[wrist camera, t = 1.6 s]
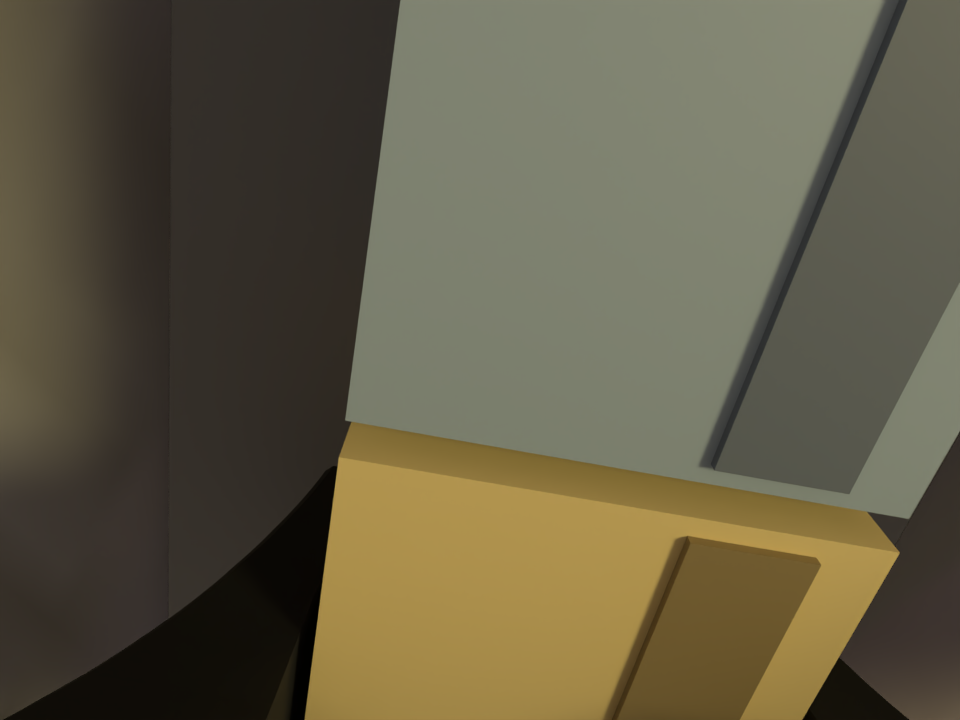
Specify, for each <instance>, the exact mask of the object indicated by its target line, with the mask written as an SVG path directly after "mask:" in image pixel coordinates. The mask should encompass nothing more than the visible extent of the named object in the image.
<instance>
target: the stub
mask: <svg viewBox="0 0 960 720" xmlns="http://www.w3.org/2000/svg"><path fill="white" fill-rule="evenodd" d="M899 554H900V552H899V551H898V550H897V549H896V547H895V546H894V545H893V544H892V542H891V541H890V540H889V539H888V537H887V536H886V535H885V534H884V532H883V531H882V530H881V529H880V527H879V526H878V525H877V524H876V522H875V521H874V520H873V519H872V517H871V516H870V515H869V514H868V512H866V511H860V510H855V509H849V508H843V507H837V506H832V505H826V504H820V503H814V502H809V501H803V500H797V499H792V498H786V497H780V496H774V495H769V494H763V493H757V492H751V491H746V490H740V489H734V488H729V487H723V486H717V485H711V484H706V483H700V482H694V481H688V480H683V479H677V478H671V477H666V476H660V475H654V474H648V473H643V472H637V471H631V470H625V469H620V468H614V467H608V466H603V465H597V464H591V463H585V462H580V461H574V460H568V459H562V458H557V457H551V456H545V455H540V454H534V453H528V452H522V451H517V450H511V449H505V448H499V447H494V446H488V445H482V444H477V443H471V442H465V441H459V440H454V439H448V438H442V437H436V436H431V435H425V434H419V433H414V432H408V431H402V430H396V429H391V428H385V427H379V426H373V425H368V424H362V423H356V422H351V425H350V427H349V430H348V433H347V436H346V439H345V441H344V444H343V447H342V450H341V453H340V455H339V460H338V468H337V475H336V483H335V491H334V498H333V506H332V514H331V521H330V529H329V537H328V544H327V552H326V560H325V567H324V575H323V583H322V590H321V598H320V606H319V613H318V621H317V629H316V636H315V644H314V652H313V659H312V667H311V675H310V682H309V690H308V698H307V705H306V713H305V720H802V719H803V718H804V716H805V714H806V713H807V711H808V709H809V707H810V706H811V704H812V702H813V701H814V699H815V697H816V695H817V694H818V692H819V690H820V689H821V687H822V685H823V684H824V682H825V680H826V678H827V677H828V675H829V673H830V672H831V670H832V668H833V666H834V665H835V663H836V661H837V660H838V658H839V656H840V654H841V653H842V651H843V649H844V648H845V646H846V644H847V642H848V641H849V639H850V637H851V636H852V634H853V632H854V631H855V629H856V627H857V625H858V624H859V622H860V620H861V619H862V617H863V615H864V613H865V612H866V610H867V608H868V607H869V605H870V603H871V601H872V600H873V598H874V596H875V595H876V593H877V591H878V590H879V588H880V586H881V584H882V583H883V581H884V579H885V578H886V576H887V574H888V572H889V571H890V569H891V567H892V566H893V564H894V562H895V560H896V559H897V557H898V555H899Z"/></svg>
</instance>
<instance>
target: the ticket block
mask: <svg viewBox="0 0 960 720" xmlns="http://www.w3.org/2000/svg"><path fill="white" fill-rule="evenodd" d="M345 421H350V422H356V423H362V424H368V425H373V426H379V427H385V428H391V429H396V430H402V431H408V432H414V433H419V434H425V435H431V436H436V437H442V438H448V439H454V440H459V441H465V442H471V443H477V444H482V445H488V446H494V447H499V448H505V449H511V450H517V451H522V452H528V453H534V454H540V455H545V456H551V457H557V458H562V459H568V460H574V461H580V462H585V463H591V464H597V465H603V466H608V467H614V468H620V469H625V470H631V471H637V472H643V473H648V474H654V475H660V476H666V477H671V478H677V479H683V480H688V481H694V482H700V483H706V484H711V485H717V486H723V487H729V488H734V489H740V490H746V491H751V492H757V493H763V494H769V495H774V496H780V497H786V498H792V499H797V500H803V501H809V502H814V503H820V504H826V505H832V506H837V507H843V508H849V509H855V510H860V511H866V512H872V513H878V514H883V515H889V516H895V517H900V518H906V519H909V518H910V517H911V515H912V513H913V511H914V510H915V508H916V506H917V504H918V503H919V501H920V499H921V497H922V496H923V494H924V492H925V491H926V489H927V487H928V485H929V484H930V482H931V480H932V478H933V477H934V475H935V473H936V471H937V470H938V468H939V466H940V465H941V463H942V461H943V459H944V458H945V456H946V454H947V452H948V451H949V449H950V447H951V445H952V444H953V442H954V440H955V439H956V437H957V435H958V433H959V432H960V0H400V7H399V15H398V22H397V30H396V38H395V45H394V53H393V60H392V68H391V76H390V83H389V91H388V98H387V106H386V114H385V121H384V129H383V137H382V144H381V152H380V159H379V167H378V175H377V182H376V190H375V197H374V205H373V213H372V220H371V228H370V235H369V243H368V251H367V258H366V266H365V273H364V281H363V289H362V296H361V304H360V311H359V319H358V327H357V334H356V342H355V349H354V357H353V365H352V372H351V380H350V387H349V395H348V403H347V410H346V418H345Z"/></svg>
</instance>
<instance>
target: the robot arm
mask: <svg viewBox="0 0 960 720" xmlns="http://www.w3.org/2000/svg"><path fill="white" fill-rule="evenodd" d="M337 468H338V466H332V467H330V468H329V469H327V470H325V472H324V473H323V475H322V476H321V477H320V479H319V480H318V481H317V482H316V484H315V485H314V486H313V487H312V489H311V490H310V491H309V492H308V493H307V494H306V496H305V497H304V498H303V499H302V500H301V501H300V502H299V503H298V504H297V506H296V507H295V508H294V509H293V510H292V511H291V512H290V513H289V514H288V515H287V516H286V517H285V518H284V519H283V520H282V521H281V522H280V523H279V524H278V525H277V526H276V527H275V528H274V529H273V530H272V531H271V532H270V533H269V534H268V535H267V536H266V537H265V538H264V539H263V540H262V541H261V542H260V543H259V544H258V545H257V546H256V547H255V548H254V549H253V550H252V551H251V552H250V553H248V554H247V555H246V556H245V557H244V558H243V559H242V560H241V561H239V562H238V563H237V564H236V565H235V566H234V567H233V568H231V569H230V570H229V571H228V572H227V573H226V574H225V575H224V576H222V577H221V578H220V579H219V580H218V581H217V582H215V583H214V584H213V585H212V586H210V587H209V588H208V589H207V590H206V591H204V592H203V593H202V594H201V595H199V596H198V597H197V598H195V599H194V600H193V601H192V602H190V603H189V604H188V605H186V606H185V607H184V608H182V609H181V610H180V611H178V612H177V613H176V614H174V615H173V616H172V617H170V618H169V619H168V620H166V621H165V622H163V623H162V624H161V625H159V626H158V627H156V628H155V629H153V630H152V631H150V632H149V633H147V634H146V635H144V636H143V637H141V638H140V639H138V640H137V641H136V642H134V643H133V644H131V645H130V646H128V647H127V648H125V649H124V650H122V651H121V652H119V653H118V654H116V655H115V656H113V657H111V658H110V659H108V660H107V661H105V662H103V663H102V664H100V665H99V666H97V667H95V668H94V669H92V670H91V671H89V672H87V673H86V674H84V675H82V676H80V677H79V678H77V679H75V680H73V681H72V682H70V683H68V684H66V685H64V686H63V687H61V688H59V689H57V690H56V691H54V692H52V693H50V694H49V695H47V696H45V697H43V698H42V699H40V700H38V701H36V702H34V703H33V704H31V705H29V706H27V707H26V708H24V709H22V710H20V711H19V712H17V713H15V714H13V715H11V716H9V717H7V718H6V719H4V720H305V713H306V705H307V698H308V690H309V682H310V675H311V667H312V659H313V652H314V644H315V636H316V629H317V621H318V613H319V606H320V598H321V590H322V583H323V575H324V567H325V560H326V552H327V544H328V537H329V529H330V521H331V514H332V506H333V498H334V491H335V483H336V475H337ZM802 720H909V719H908V718H906V717H905V716H904V715H903V714H902V713H900V712H899V711H898V710H897V709H896V708H894V707H893V706H892V705H891V704H890V703H888V702H887V701H886V700H885V699H884V698H883V697H882V696H880V695H879V694H878V693H877V692H876V691H875V690H874V689H872V688H871V687H870V686H869V685H868V684H867V683H866V682H865V681H864V680H863V679H862V678H860V677H859V676H858V675H857V674H856V673H855V672H854V671H853V670H852V669H851V668H850V667H849V666H848V665H846V664H845V663H844V662H843V661H842V660H841V659H840V658H838V660H837V661H836V663H835V665H834V666H833V668H832V670H831V672H830V673H829V675H828V677H827V678H826V680H825V682H824V684H823V685H822V687H821V689H820V690H819V692H818V694H817V695H816V697H815V699H814V701H813V702H812V704H811V706H810V707H809V709H808V711H807V713H806V714H805V716H804V718H803V719H802Z"/></svg>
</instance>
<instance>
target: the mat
mask: <svg viewBox="0 0 960 720" xmlns="http://www.w3.org/2000/svg"><path fill="white" fill-rule="evenodd" d="M399 7H400V0H171V158H170V349H169V540H168V619H169V618H170V617H172V616H173V615H174V614H176V613H177V612H178V611H180V610H181V609H182V608H184V607H185V606H186V605H188V604H189V603H190V602H192V601H193V600H194V599H195V598H197V597H198V596H199V595H201V594H202V593H203V592H204V591H206V590H207V589H208V588H209V587H210V586H212V585H213V584H214V583H215V582H217V581H218V580H219V579H220V578H221V577H222V576H224V575H225V574H226V573H227V572H228V571H229V570H230V569H231V568H233V567H234V566H235V565H236V564H237V563H238V562H239V561H241V560H242V559H243V558H244V557H245V556H246V555H247V554H248V553H250V552H251V551H252V550H253V549H254V548H255V547H256V546H257V545H258V544H259V543H260V542H261V541H262V540H263V539H264V538H265V537H266V536H267V535H268V534H269V533H270V532H271V531H272V530H273V529H274V528H275V527H276V526H277V525H278V524H279V523H280V522H281V521H282V520H283V519H284V518H285V517H286V516H287V515H288V514H289V513H290V512H291V511H292V510H293V509H294V508H295V507H296V506H297V504H298V503H299V502H300V501H301V500H302V499H303V498H304V497H305V496H306V494H307V493H308V492H309V491H310V490H311V489H312V487H313V486H314V485H315V484H316V482H317V481H318V480H319V479H320V477H321V476H322V475H323V473H324V472H325V470H327V469H329V468H330V467H332V466H338V460H339V455H340V453H341V450H342V447H343V444H344V441H345V439H346V436H347V433H348V430H349V427H350V425H351V422H350V421H345V418H346V410H347V403H348V395H349V387H350V380H351V372H352V365H353V357H354V349H355V342H356V334H357V327H358V319H359V311H360V304H361V296H362V289H363V281H364V273H365V266H366V258H367V251H368V243H369V235H370V228H371V220H372V213H373V205H374V197H375V190H376V182H377V175H378V167H379V159H380V152H381V144H382V137H383V129H384V121H385V114H386V106H387V98H388V91H389V83H390V76H391V68H392V60H393V53H394V45H395V38H396V30H397V22H398V15H399ZM959 434H960V432H959V433H958V435H957V437H958V436H959ZM957 437H956V439H957ZM956 439H955V440H954V442H953V444H954V443H955V441H956ZM953 444H952V445H951V447H950V449H951V448H952V446H953ZM950 449H949V451H950ZM949 451H948V452H947V454H946V456H947V455H948V453H949ZM946 456H945V458H946ZM945 458H944V459H943V461H942V463H943V462H944V460H945ZM942 463H941V465H942ZM941 465H940V466H939V468H940V467H941ZM939 468H938V470H939ZM938 470H937V471H936V473H935V475H936V474H937V472H938ZM935 475H934V477H935ZM934 477H933V478H932V480H931V482H932V481H933V479H934ZM931 482H930V484H931ZM930 484H929V485H928V487H927V489H928V488H929V486H930ZM927 489H926V491H927ZM926 491H925V492H924V494H925V493H926ZM924 494H923V496H924ZM923 496H922V497H921V499H920V501H921V500H922V498H923ZM920 501H919V503H920ZM919 503H918V504H917V506H916V508H917V507H918V505H919ZM916 508H915V510H916ZM915 510H914V511H913V513H914V512H915ZM913 513H912V515H913ZM868 514H869V515H870V516H871V517H872V519H873V520H874V521H875V522H876V524H877V525H878V526H879V527H880V529H881V530H882V531H883V532H884V534H885V535H886V536H887V537H888V539H889V540H890V541H891V542H892V544H893V545H894V546H895V545H896V543H897V541H898V539H899V538H900V536H901V534H902V533H903V531H904V529H905V527H906V526H907V524H908V522H909V520H910V519H911V517H912V515H911V517H910V518H909V519H906V518H900V517H895V516H889V515H883V514H878V513H872V512H868Z"/></svg>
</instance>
